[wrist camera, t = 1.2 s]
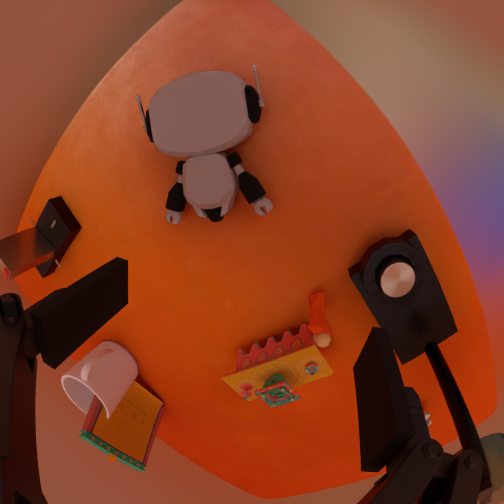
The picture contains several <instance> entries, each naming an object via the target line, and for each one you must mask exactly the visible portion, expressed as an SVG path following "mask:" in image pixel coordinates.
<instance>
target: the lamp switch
mask: <svg viewBox="0 0 504 504" xmlns="http://www.w3.org/2000/svg"><path fill="white" fill-rule="evenodd" d="M377 278H378V281H379V283H380V286H381V288H382V290H383V291H384V293H385V294H387V295H388V296H391V297H400V296H403V295H405V294H407V293H408V292H409V291H410V290H411V288H412V287H413V285H414V282H415V273H414V270H413V269H412V267H411V266H410V265H409V264H408V262H407V261H406V260H405V259H403V258H401V257H397V256H394V257H390V258H388V259H386V260H385V261H383V262H382V264H381V265H380V267H379V269H378V272H377Z"/></svg>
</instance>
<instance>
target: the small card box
mask: <svg viewBox="0 0 504 504" xmlns="http://www.w3.org/2000/svg"><path fill="white" fill-rule="evenodd" d="M54 253H55V249H54V248H53V247H52V246H51V244H50V243H49V242H48V241H47V240H46V238H45V237H44V236H43V235H42V233H41V232H40V231H39V230H38V228H37V227H36V226H35V227H32V228H30V229H27V230H24V231H22V232H19V233H17V234H14V235H12V236H9V237H6V238H4V239H2V240H0V269H1V270H2V272H3V275H4V277H5V278H6V279H8V280H11V279H13V278H15V277H16V276H18V275H20V274H22V273H24V272H26V271H28V270H30V269H32V268H34V267H35V266H37V265H39V264H41V263H43V262H45V261H47V260H49V259H51V258H53V256H54Z"/></svg>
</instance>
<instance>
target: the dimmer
mask: <svg viewBox="0 0 504 504" xmlns="http://www.w3.org/2000/svg"><path fill="white" fill-rule="evenodd" d="M29 220H30V221H31V223H32V225H34V222H33V221H32V219H31V217H29ZM36 227H37V228H38V230H39V231H40V232H41V233H42V235H43V236H44V237H45V238H46V240H47V241H48V242H49V243H50V244H51V246H52V247H53V248H54V249H55V253H54V256H53V258H51V259H49V260H47V261H45V262H43V263H41V264H39V265H37V266H35V267H36V268H37V270H38V271H39V273H40V274H41V276H42V277H43V278H45V277H46V276H48V275H50V274H52V273H53V272H54V270H55V269H56V267H57V265H58V266H59V267H60V268H61V267H62V266H61V265H60V263H59V262H60V260H61V258H62V257H63V255H64V254H65V252H66V250H67V249H68V247H69V246H70V244H71V242H72V241H73V239H74V238H75V236H76V235H77V233H78V232H79V230H80V229H81V226H80V224H79V223H78V222H77V220H76V219H75V217H74V216H73V214H72V213H71V211H70V210H69V208H68V207H67V205H66V203H65V202H64V200H63V199H62V197H61V196H60V197H56V198H52V199H49V200H48V202H47V204H46V206H45V208H44V210H43V212H42V214H41V216H40V218H39V220H38V222H37V224H36Z"/></svg>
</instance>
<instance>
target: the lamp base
mask: <svg viewBox="0 0 504 504" xmlns="http://www.w3.org/2000/svg"><path fill="white" fill-rule="evenodd" d="M394 256H397V257H401V258H403V259H405V260H406V261H407V262H408V264H409V265H410V266H411V267H412V269H413V270H414V273H415V282H414V285H413V287H412V288H411V290H410V291H409V292H408V293H407V294H405V295H403V296H400V297H391V296H388V295H387V294H385V293H384V291H383V290H382V288H381V286H380V283H379V281H378V278H377V272H378V269H379V267H380V265H381V264H382V262H383V261H385V260H386V259H388V258H390V257H394ZM348 271H349V275H350V278H351V279H352V281H353V283H354V284H355V286H356V287H357V289H358V290H359V292H360V294H361V295H362V297H363V299H364V300H365V302H366V303H367V305H368V307H369V308H370V310H371V312H372V313H373V315H374V317H375V318H376V320H377V322H378V323H379V325H380V327H381V328H382V329H386V330H387V333H388V336H389V339H390V342H391V345H392V347H393V349H394V351H395V353H396V354H397V356H398V358H399V360H400V362H401V363H402V365H403V364H405V363H407V362H409V361H411V360H412V359H414V358H416V357H418V356H419V355H421V354H423V353H424V352H425V346H426V345H427V344H428V343H429V342H432V341H434V342H436V343H437V344H439V343H441V342H442V341H444V340H445V339H447V338H448V337H450V336H451V335H453V334H454V333H456V332H457V331H458V330H457V327H456V325H455V322H454V319H453V316H452V314H451V311H450V308H449V306H448V303H447V301H446V298H445V296H444V293H443V291H442V288H441V286H440V284H439V281H438V279H437V277H436V275H435V272H434V270H433V268H432V266H431V264H430V261H429V259H428V257H427V255H426V253H425V251H424V249H423V247H422V245H421V243H420V241H419V239H418V237H417V235H416V234H415V233H414V232H413V231H411V230H410V229H409V230H408V231H406V232H405V233H403V234H402V235H400V236H399V237H391V238H382V239H381V240H379V241H378V242H376V243H375V244H373V245H372V246H370V247H369V248H368V250H367V251H366V253H365V255H364V257H363V259H362V261H360V262H359V263H357V264H356V265H354V266H353V267H351V268H349V269H348Z"/></svg>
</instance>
